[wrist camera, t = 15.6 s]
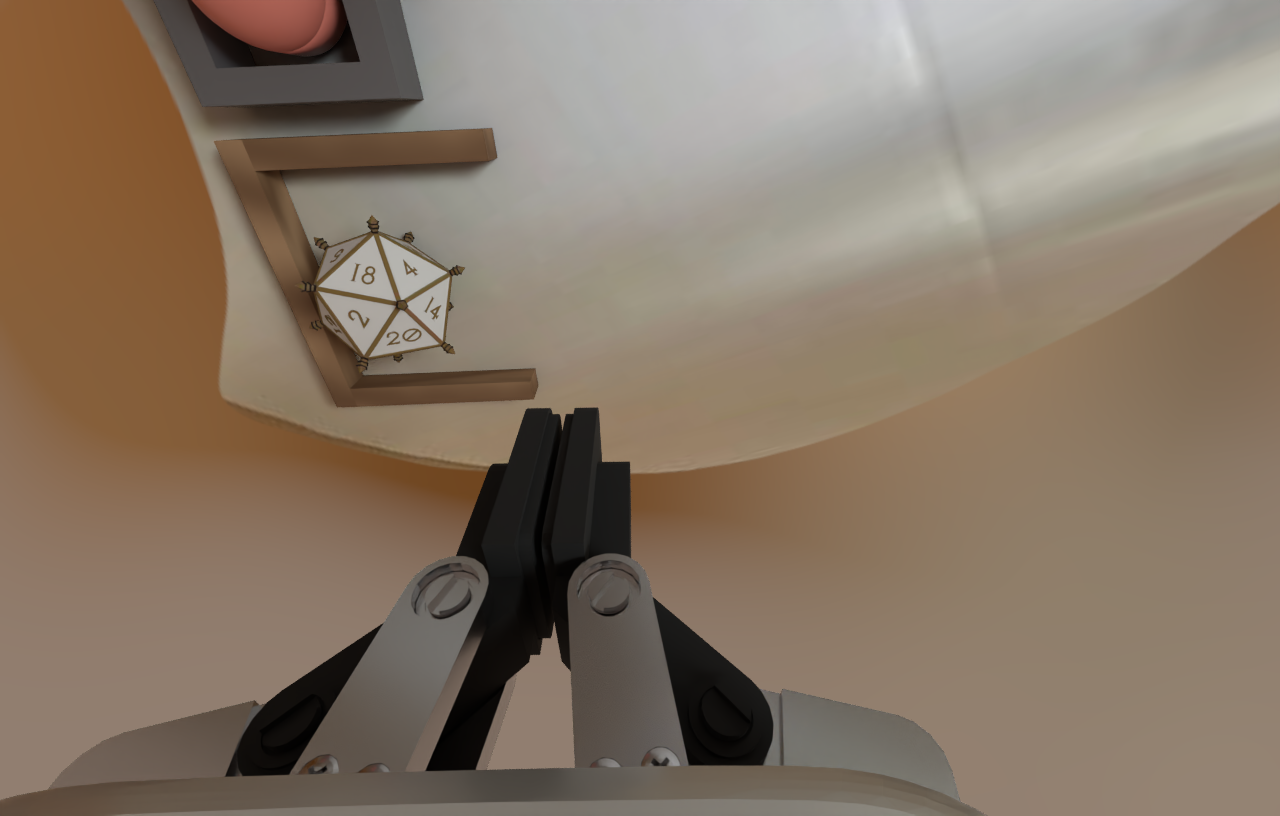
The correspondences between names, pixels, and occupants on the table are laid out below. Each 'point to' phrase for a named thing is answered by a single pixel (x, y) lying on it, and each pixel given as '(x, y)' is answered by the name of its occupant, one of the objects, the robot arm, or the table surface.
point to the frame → (295, 262)
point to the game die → (382, 295)
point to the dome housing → (236, 81)
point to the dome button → (280, 23)
